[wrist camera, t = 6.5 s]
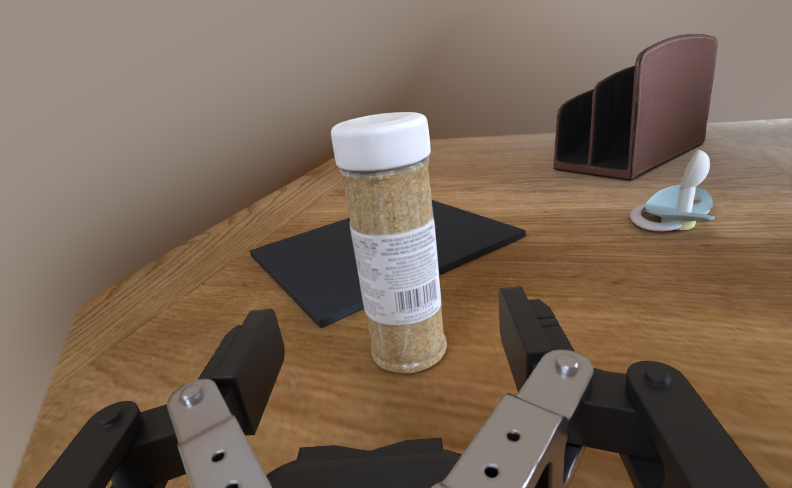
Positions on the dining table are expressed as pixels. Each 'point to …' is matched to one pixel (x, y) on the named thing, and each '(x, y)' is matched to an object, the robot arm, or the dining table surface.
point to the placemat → (336, 264)
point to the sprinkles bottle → (393, 236)
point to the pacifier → (679, 200)
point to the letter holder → (640, 111)
